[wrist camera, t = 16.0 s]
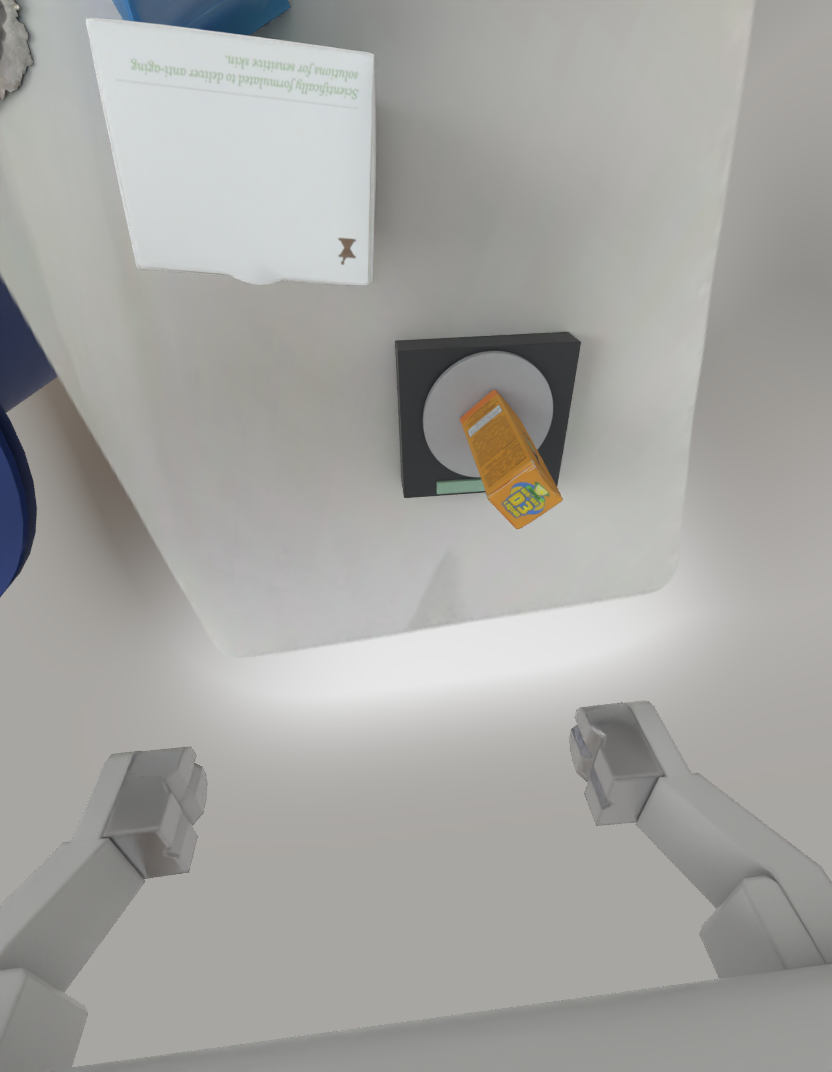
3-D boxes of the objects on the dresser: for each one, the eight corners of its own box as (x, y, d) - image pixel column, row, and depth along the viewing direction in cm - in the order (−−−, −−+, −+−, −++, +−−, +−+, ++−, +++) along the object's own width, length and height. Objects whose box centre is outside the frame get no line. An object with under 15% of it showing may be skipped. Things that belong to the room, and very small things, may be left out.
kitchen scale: (401, 482, 41) (404, 504, 38) (395, 340, 34) (398, 354, 31) (547, 472, 41) (560, 492, 39) (568, 331, 35) (585, 345, 32)
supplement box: (453, 420, 34) (483, 497, 26) (494, 386, 33) (538, 455, 25) (482, 452, 36) (518, 534, 28) (521, 421, 35) (571, 496, 27)
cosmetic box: (375, 100, 27) (392, 41, 14) (370, 243, 31) (381, 295, 18) (210, 79, 26) (72, -5, 13) (227, 230, 30) (132, 276, 17)
